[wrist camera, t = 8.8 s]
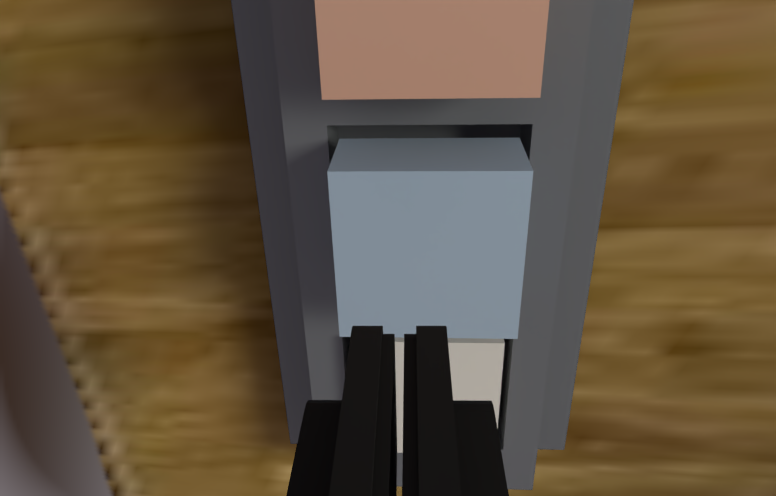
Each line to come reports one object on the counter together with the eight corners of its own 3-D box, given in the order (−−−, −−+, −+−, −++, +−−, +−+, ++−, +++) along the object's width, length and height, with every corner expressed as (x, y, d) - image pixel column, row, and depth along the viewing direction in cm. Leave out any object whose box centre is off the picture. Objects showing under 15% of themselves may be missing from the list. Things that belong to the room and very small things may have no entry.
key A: (489, 406, 24) (495, 455, 22) (363, 403, 24) (357, 451, 22) (496, 300, 21) (504, 343, 19) (357, 299, 22) (350, 341, 20)
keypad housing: (559, 431, 26) (574, 490, 23) (295, 425, 26) (280, 483, 24) (725, -698, 12) (811, -873, 9) (157, -654, 12) (85, -806, 10)
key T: (506, 290, 19) (517, 338, 17) (348, 289, 19) (339, 336, 17) (519, 137, 16) (533, 170, 14) (339, 138, 17) (327, 171, 15)
